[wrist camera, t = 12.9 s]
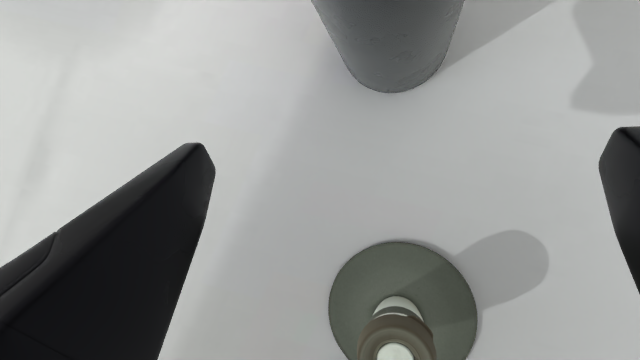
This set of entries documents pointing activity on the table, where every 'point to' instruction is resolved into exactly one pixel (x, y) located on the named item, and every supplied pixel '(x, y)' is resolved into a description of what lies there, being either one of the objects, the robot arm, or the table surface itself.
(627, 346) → the table surface
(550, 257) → the table surface
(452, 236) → the table surface
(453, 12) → the flask
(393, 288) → the coffee cup
